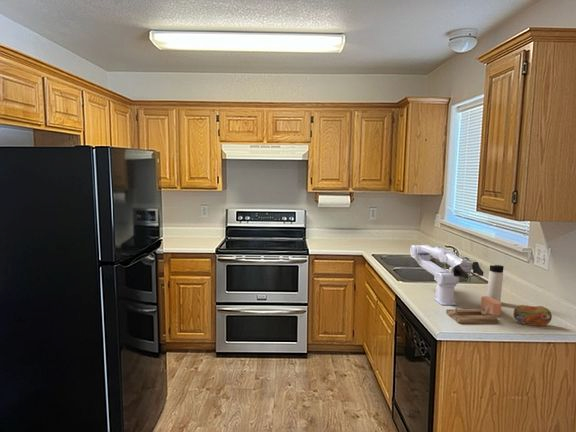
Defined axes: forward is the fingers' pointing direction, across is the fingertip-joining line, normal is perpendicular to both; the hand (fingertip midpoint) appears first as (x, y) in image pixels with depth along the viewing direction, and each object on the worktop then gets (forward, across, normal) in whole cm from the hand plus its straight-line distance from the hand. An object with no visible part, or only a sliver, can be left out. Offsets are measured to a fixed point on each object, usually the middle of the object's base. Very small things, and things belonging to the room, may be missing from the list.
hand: (475, 275), depth 185 cm
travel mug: (-13, +21, +26) cm, 36 cm away
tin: (+14, +20, +21) cm, 32 cm away
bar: (-2, +11, +22) cm, 25 cm away
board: (+4, -3, +19) cm, 20 cm away
